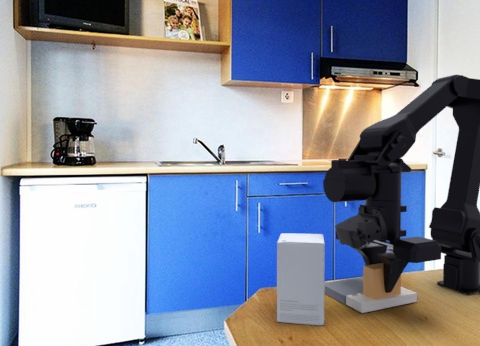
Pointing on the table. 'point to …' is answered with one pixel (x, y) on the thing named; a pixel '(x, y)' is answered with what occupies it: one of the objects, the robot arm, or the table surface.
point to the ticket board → (344, 288)
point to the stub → (378, 292)
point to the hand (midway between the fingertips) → (382, 289)
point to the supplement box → (300, 278)
